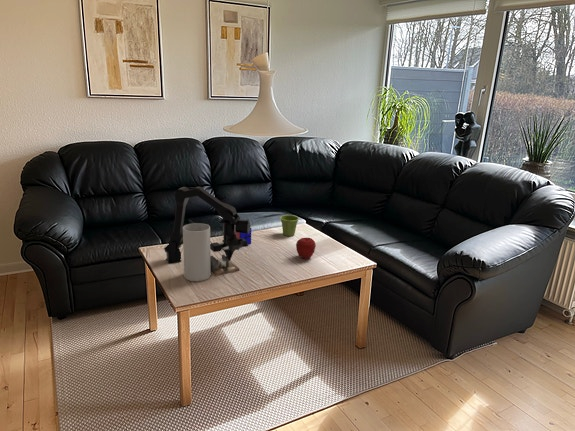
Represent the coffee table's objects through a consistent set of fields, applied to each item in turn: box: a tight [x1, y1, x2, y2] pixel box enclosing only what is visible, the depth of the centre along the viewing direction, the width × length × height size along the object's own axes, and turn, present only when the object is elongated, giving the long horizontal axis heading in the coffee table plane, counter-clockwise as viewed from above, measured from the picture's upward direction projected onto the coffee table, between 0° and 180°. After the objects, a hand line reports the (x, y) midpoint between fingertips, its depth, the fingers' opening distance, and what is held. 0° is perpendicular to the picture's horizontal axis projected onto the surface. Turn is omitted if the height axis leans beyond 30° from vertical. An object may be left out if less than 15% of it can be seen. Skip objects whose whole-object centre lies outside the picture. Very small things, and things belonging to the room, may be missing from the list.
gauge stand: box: [210, 254, 240, 277], centre depth 214 cm, size 13×12×6 cm
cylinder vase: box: [182, 222, 212, 282], centre depth 202 cm, size 12×12×25 cm
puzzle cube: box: [235, 227, 252, 249], centre depth 249 cm, size 10×10×10 cm
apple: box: [295, 237, 316, 260], centre depth 233 cm, size 11×11×12 cm
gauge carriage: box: [216, 254, 229, 270], centre depth 213 cm, size 4×10×4 cm, turn 32°
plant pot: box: [279, 214, 300, 237], centre depth 268 cm, size 12×12×11 cm
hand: (229, 260), depth 217 cm, fingers closed
